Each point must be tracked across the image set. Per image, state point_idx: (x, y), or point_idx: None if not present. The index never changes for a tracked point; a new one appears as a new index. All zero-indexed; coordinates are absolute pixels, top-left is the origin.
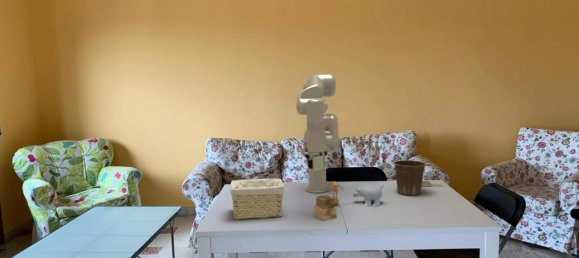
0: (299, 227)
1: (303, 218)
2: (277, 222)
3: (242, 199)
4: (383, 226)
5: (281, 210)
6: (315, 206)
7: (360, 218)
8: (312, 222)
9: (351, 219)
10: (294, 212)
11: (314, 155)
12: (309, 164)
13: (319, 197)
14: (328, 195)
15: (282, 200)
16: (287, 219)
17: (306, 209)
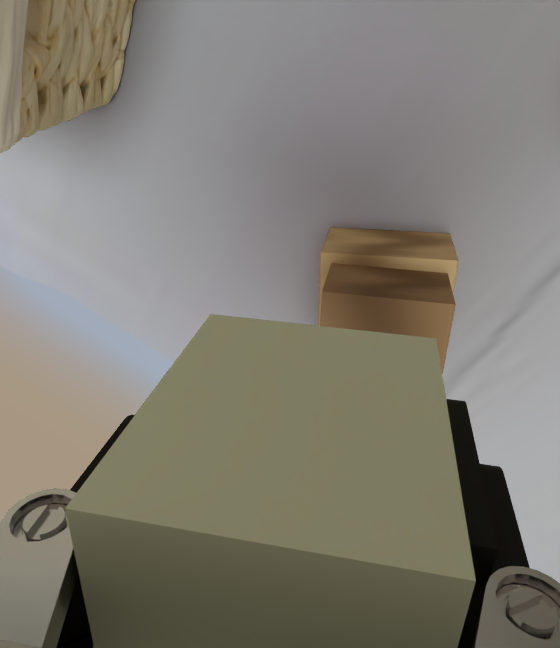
0: (151, 331)
1: (237, 223)
2: (60, 188)
3: None
4: (538, 566)
5: (88, 110)
6: (321, 264)
7: (546, 434)
8: (251, 314)
9: (486, 413)
10: (240, 62)
11: (250, 626)
12: None
13: (336, 323)
14: (447, 325)
15: (47, 126)
16: (135, 176)
17: (366, 48)
